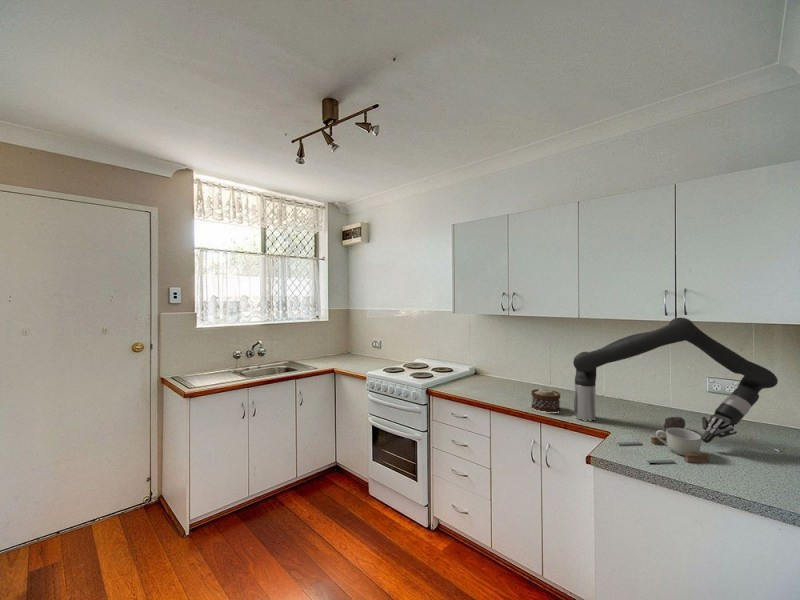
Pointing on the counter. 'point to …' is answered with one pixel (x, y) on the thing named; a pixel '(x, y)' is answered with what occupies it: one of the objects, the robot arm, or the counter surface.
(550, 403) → the chocolate cake
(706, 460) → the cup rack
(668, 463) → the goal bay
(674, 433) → the teacup
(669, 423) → the perforated stone tool
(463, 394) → the counter surface
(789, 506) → the counter surface
